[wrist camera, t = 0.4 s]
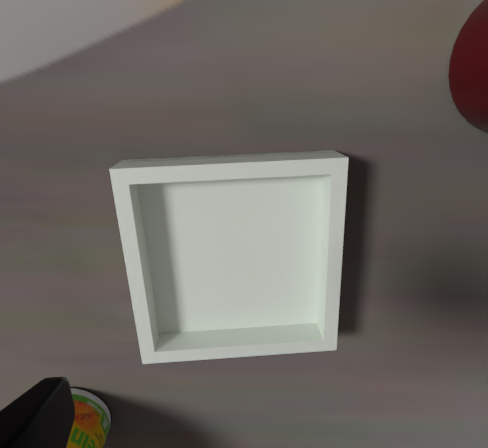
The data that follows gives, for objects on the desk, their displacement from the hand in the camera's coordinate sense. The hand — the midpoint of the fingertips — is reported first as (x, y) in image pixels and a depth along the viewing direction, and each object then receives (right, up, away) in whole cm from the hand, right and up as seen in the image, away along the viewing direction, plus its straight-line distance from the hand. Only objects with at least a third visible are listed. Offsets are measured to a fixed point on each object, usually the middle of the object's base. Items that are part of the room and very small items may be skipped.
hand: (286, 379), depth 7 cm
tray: (-1, +2, +14) cm, 14 cm away
